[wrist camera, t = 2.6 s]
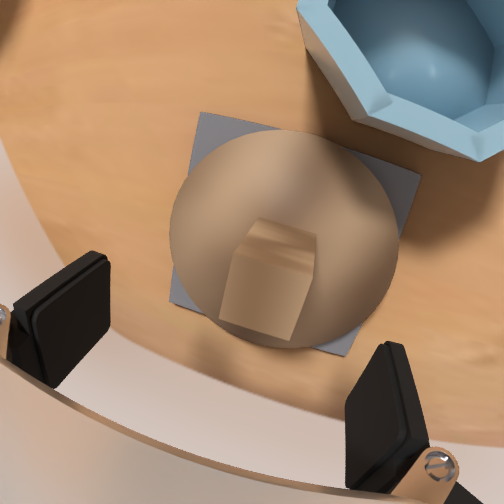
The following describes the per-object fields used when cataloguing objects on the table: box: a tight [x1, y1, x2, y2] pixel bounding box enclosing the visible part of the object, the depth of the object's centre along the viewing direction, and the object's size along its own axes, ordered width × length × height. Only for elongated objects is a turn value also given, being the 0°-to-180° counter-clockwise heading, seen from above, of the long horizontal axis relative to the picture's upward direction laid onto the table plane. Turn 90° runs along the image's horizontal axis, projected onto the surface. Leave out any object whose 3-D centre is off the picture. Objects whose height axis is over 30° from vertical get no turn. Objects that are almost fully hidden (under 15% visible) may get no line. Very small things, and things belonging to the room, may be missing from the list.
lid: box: [169, 130, 399, 348], centre depth 15 cm, size 12×12×6 cm
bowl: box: [296, 0, 504, 162], centre depth 10 cm, size 11×11×6 cm
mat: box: [169, 112, 422, 356], centre depth 18 cm, size 12×12×1 cm
